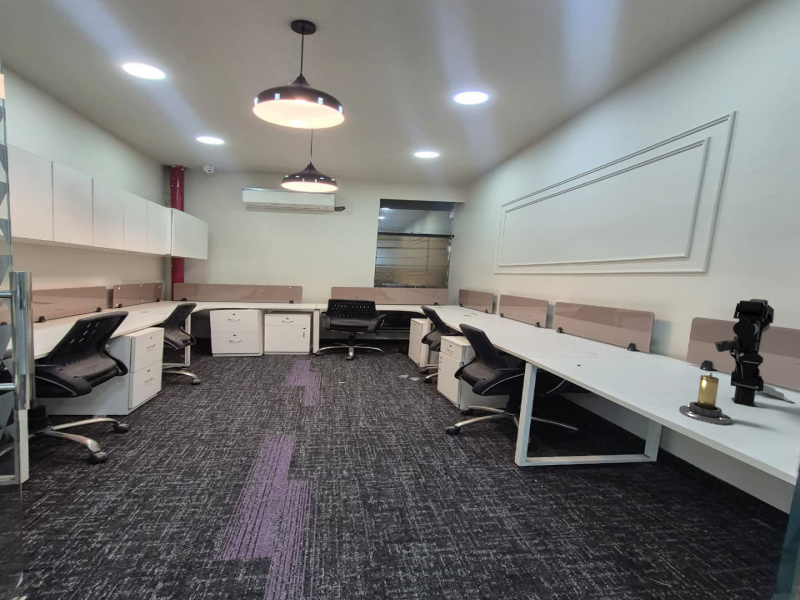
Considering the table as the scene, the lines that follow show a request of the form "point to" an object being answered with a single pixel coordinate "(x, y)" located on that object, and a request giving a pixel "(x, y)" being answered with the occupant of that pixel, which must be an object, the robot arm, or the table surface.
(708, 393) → the brass pepper mill
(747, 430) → the table surface
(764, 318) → the robot arm
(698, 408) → the grey flange
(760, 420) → the table surface
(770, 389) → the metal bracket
